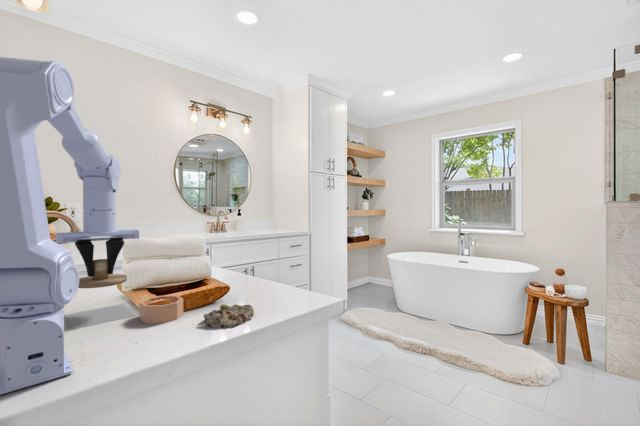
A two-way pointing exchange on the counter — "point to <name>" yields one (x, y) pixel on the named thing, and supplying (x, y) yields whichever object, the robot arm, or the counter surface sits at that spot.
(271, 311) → the counter surface
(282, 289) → the counter surface
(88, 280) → the lid
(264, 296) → the counter surface
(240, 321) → the mineral rock
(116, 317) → the mat
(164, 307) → the bowl
